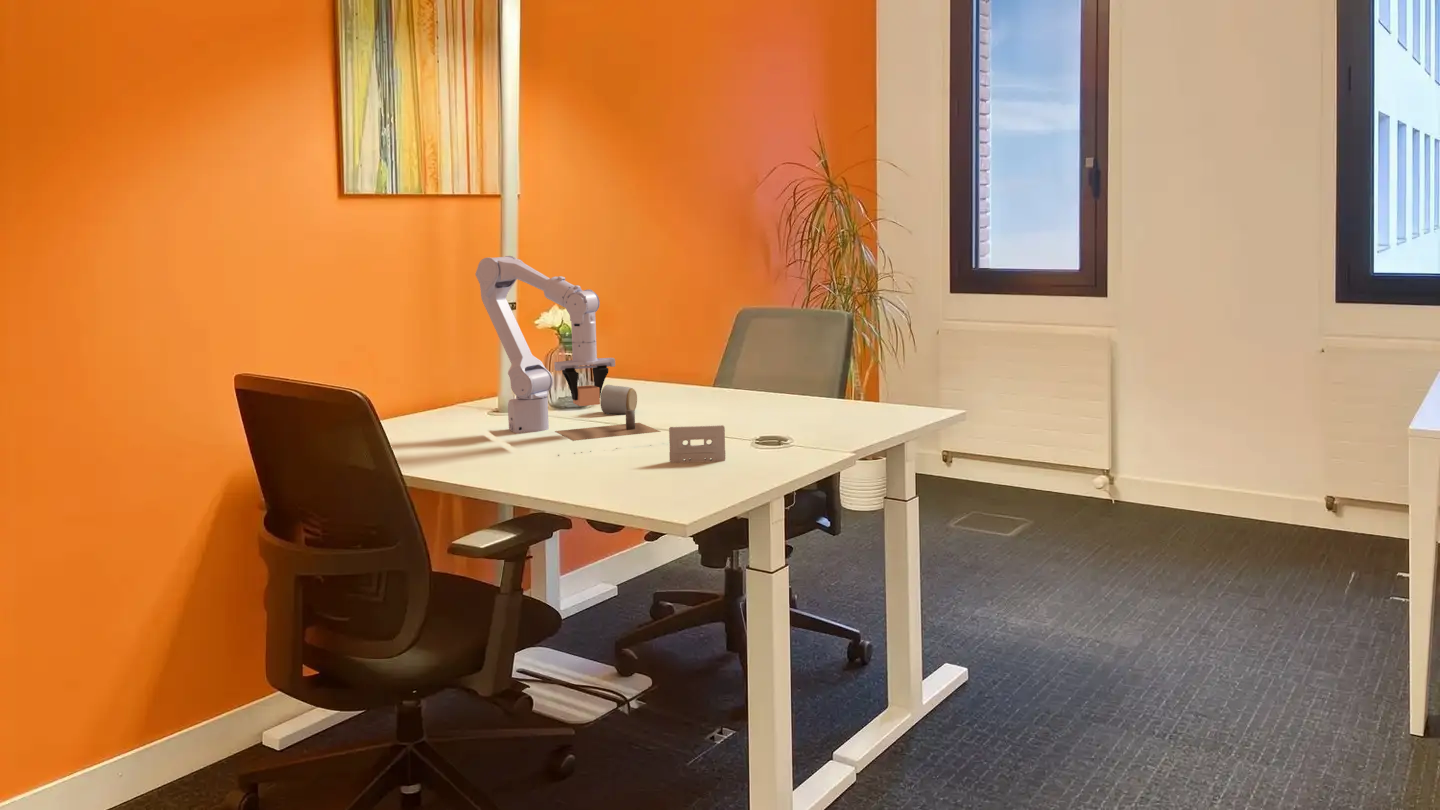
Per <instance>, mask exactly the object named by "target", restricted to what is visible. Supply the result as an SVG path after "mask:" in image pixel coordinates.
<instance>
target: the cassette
mask: <svg viewBox="0 0 1440 810" xmlns="http://www.w3.org/2000/svg"><path fill="white" fill-rule="evenodd" d="M725 432H726V429H725V426H724V425H723V424H722V425H721V424H719V425H693V426H692V425H689V426H669V428H668V434H669V435H668V438H669V440H668V441H669V462H670V463H702V462H703V463H704V462H705V463H706V462H707V463H708V462H722V461H726V441H725V440H726V437H725ZM694 440H695V441H696V440H703V444H692V443H691V441H694ZM709 440H710V441H711V443H707V442H708V441H709ZM684 441H687V444H684Z"/></svg>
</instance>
